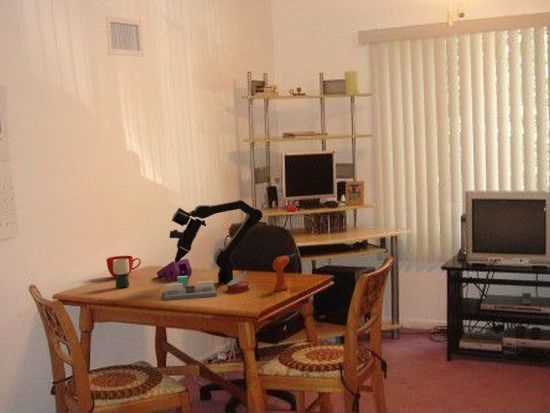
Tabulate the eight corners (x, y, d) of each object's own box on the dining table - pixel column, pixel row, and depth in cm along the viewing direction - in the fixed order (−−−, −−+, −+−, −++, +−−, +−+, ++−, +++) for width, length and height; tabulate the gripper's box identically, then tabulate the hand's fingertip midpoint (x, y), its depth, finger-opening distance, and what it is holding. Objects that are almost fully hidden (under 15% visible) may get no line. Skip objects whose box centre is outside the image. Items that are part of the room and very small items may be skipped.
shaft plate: (214, 288, 321) (214, 277, 321) (216, 296, 305) (216, 284, 305) (165, 292, 318) (164, 281, 318) (164, 300, 303) (163, 288, 302)
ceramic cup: (144, 276, 360) (142, 257, 360) (110, 281, 354) (108, 260, 353) (138, 273, 372) (137, 254, 371) (105, 277, 366) (104, 257, 365)
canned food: (244, 303, 311) (238, 285, 306) (225, 298, 316) (219, 281, 311) (257, 286, 319) (252, 269, 314) (238, 282, 324) (233, 265, 319)
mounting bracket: (158, 290, 354) (178, 277, 342) (153, 274, 356) (172, 261, 344) (173, 287, 361) (193, 274, 349) (168, 271, 363) (187, 258, 351)
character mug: (124, 284, 342) (122, 257, 341) (136, 285, 339) (134, 258, 338) (108, 289, 332) (106, 261, 331) (121, 290, 329) (119, 262, 328)
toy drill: (302, 279, 324) (299, 247, 321) (282, 293, 308) (278, 260, 305) (293, 279, 326) (289, 247, 323) (272, 292, 311) (268, 259, 308)
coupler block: (188, 286, 331) (188, 275, 330) (188, 288, 327) (188, 277, 326) (177, 287, 330) (177, 276, 330) (177, 288, 326) (177, 277, 326)
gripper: (175, 222, 337) (160, 251, 336) (175, 223, 319) (159, 254, 318) (196, 232, 338) (181, 262, 338) (198, 234, 320) (182, 266, 319)
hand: (175, 261), depth 328 cm, fingers open, 9 cm apart
